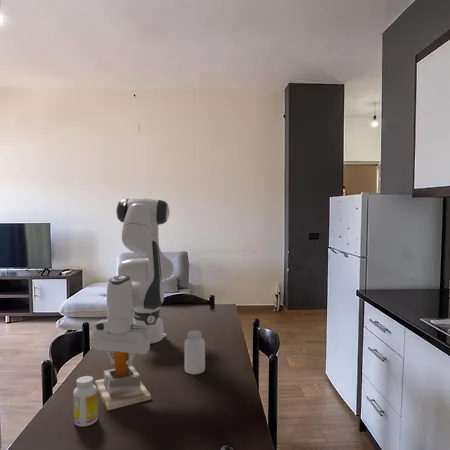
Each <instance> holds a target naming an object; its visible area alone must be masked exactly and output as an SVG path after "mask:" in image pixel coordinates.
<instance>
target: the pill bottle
mask: <svg viewBox="0 0 450 450" xmlns="http://www.w3.org/2000/svg"><path fill="white" fill-rule="evenodd" d="M183 344H184V345H183V346H184V348H183V349H184V353H183V354H184V356H183V357H184V372H185V373H187V374H190V375H199V374H202V373H205V370H206V342H205V339H204V338H202V332H201V331H200V330H189V331H187V339H185V340H184V343H183Z"/></svg>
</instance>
